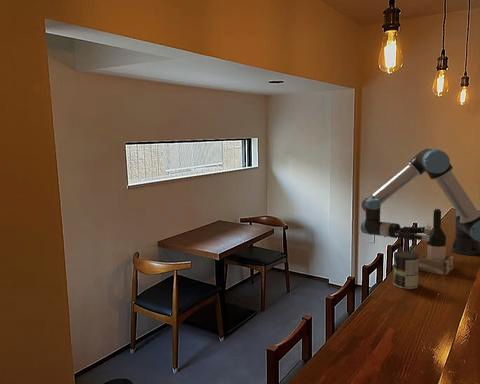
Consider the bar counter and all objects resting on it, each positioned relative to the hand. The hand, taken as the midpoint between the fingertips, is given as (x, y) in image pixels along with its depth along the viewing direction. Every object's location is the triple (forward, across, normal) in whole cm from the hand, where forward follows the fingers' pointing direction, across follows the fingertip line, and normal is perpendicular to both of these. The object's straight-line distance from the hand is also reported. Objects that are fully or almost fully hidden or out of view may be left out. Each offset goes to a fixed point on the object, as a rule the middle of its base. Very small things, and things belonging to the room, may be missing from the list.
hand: (433, 235), depth 193 cm
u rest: (+1, 0, -17) cm, 17 cm away
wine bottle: (+1, 0, -17) cm, 17 cm away
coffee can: (-3, +29, -17) cm, 34 cm away
